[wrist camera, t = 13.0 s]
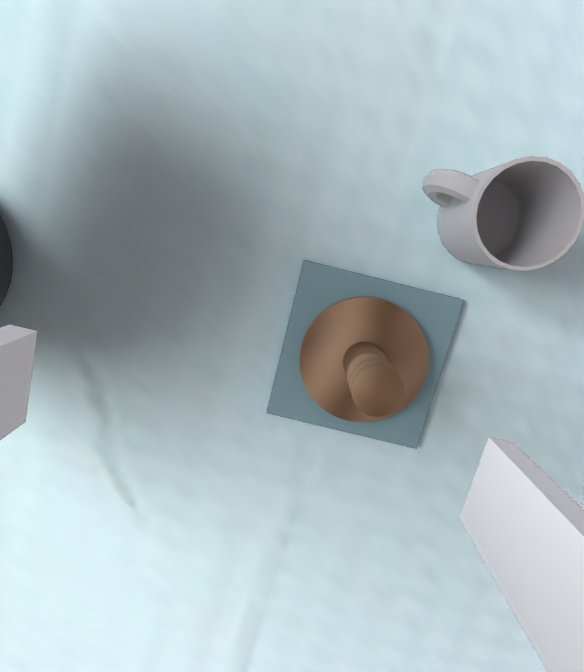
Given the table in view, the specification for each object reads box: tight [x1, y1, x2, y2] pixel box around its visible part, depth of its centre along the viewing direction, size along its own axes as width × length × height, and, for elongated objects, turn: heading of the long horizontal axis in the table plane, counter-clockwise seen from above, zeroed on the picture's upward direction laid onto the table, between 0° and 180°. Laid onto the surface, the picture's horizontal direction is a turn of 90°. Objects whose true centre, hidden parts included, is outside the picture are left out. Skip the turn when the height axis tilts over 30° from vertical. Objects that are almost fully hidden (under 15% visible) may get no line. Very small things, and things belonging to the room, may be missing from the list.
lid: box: [300, 297, 429, 422], centre depth 37 cm, size 11×11×9 cm
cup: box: [422, 156, 584, 271], centre depth 35 cm, size 7×10×9 cm
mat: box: [267, 260, 464, 448], centre depth 42 cm, size 14×14×1 cm
